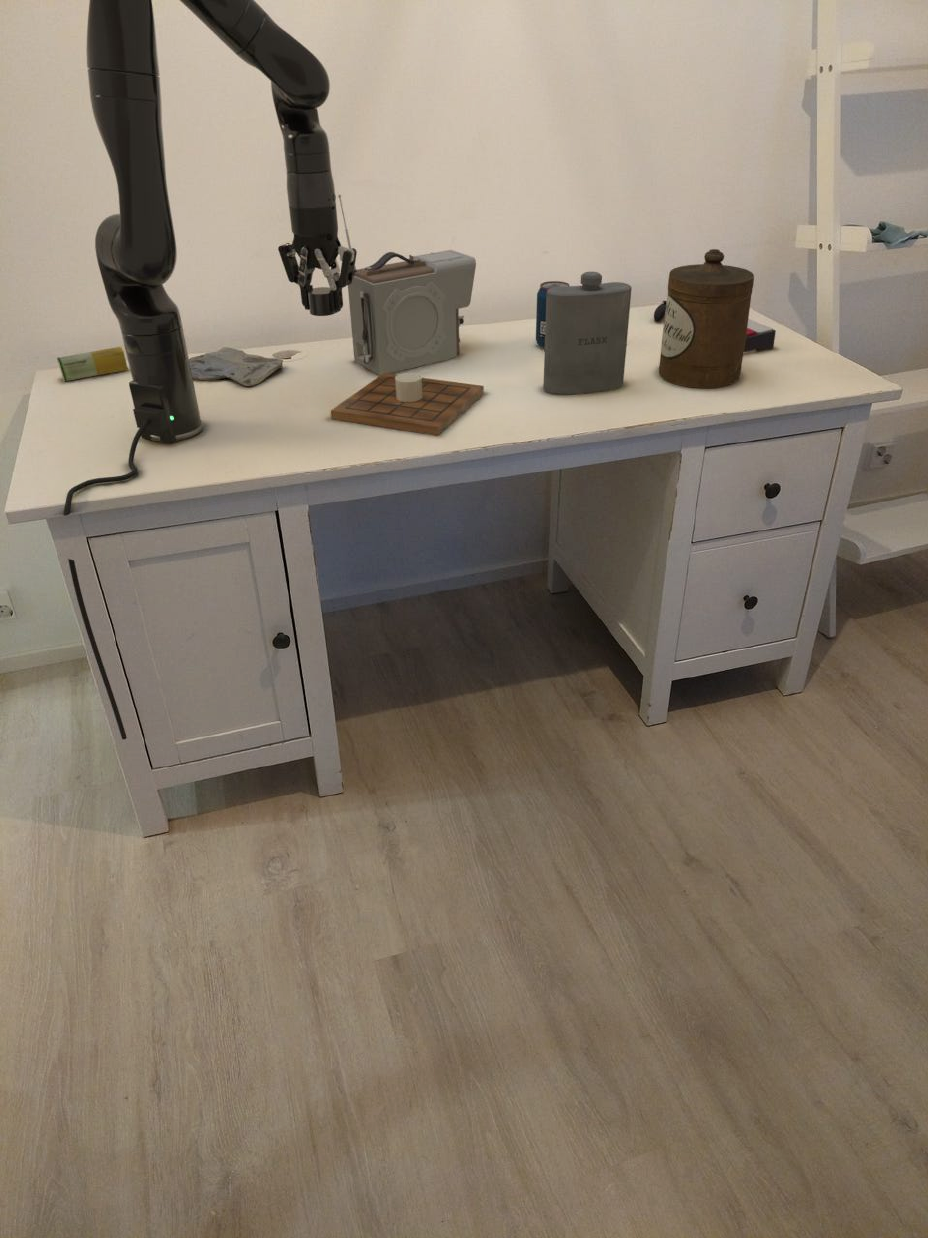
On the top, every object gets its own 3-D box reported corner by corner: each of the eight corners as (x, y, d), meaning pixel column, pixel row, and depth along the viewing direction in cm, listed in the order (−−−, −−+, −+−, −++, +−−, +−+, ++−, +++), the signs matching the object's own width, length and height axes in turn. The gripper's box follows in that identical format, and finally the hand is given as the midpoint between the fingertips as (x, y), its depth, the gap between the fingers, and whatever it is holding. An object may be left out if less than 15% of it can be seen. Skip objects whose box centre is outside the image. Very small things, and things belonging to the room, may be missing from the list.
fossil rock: (290, 368, 173) (288, 356, 171) (239, 394, 162) (236, 381, 161) (221, 355, 180) (219, 343, 178) (167, 378, 169) (165, 366, 168)
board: (437, 435, 145) (437, 426, 144) (331, 418, 151) (330, 410, 150) (483, 393, 160) (483, 385, 159) (385, 380, 166) (384, 372, 165)
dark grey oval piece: (654, 319, 191) (655, 293, 192) (651, 331, 197) (652, 306, 198) (699, 319, 190) (700, 294, 191) (695, 332, 196) (696, 307, 197)
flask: (549, 397, 157) (553, 280, 146) (539, 386, 162) (543, 272, 151) (628, 389, 160) (639, 274, 149) (617, 378, 165) (626, 265, 153)
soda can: (546, 338, 185) (548, 278, 178) (575, 343, 182) (579, 283, 175) (529, 347, 181) (530, 286, 174) (558, 353, 177) (561, 291, 170)
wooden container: (653, 361, 172) (665, 241, 159) (730, 361, 171) (748, 240, 159) (664, 389, 160) (679, 261, 147) (747, 388, 159) (769, 259, 147)
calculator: (680, 326, 178) (741, 312, 182) (678, 347, 180) (738, 333, 185) (715, 341, 170) (777, 326, 174) (712, 363, 172) (774, 348, 177)
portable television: (478, 352, 178) (477, 188, 161) (375, 377, 168) (362, 204, 150) (445, 337, 187) (441, 180, 169) (345, 360, 176) (330, 195, 159)
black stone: (328, 317, 150) (326, 295, 147) (304, 314, 151) (302, 292, 149) (341, 309, 153) (339, 288, 151) (318, 307, 154) (316, 286, 152)
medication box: (64, 382, 168) (58, 362, 166) (61, 376, 170) (55, 357, 168) (128, 370, 173) (123, 350, 170) (125, 364, 175) (120, 345, 172)
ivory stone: (415, 403, 152) (414, 383, 150) (391, 400, 154) (390, 379, 152) (426, 394, 156) (426, 374, 154) (403, 391, 157) (402, 371, 155)
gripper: (261, 203, 141) (275, 312, 151) (340, 208, 137) (349, 320, 147) (285, 195, 147) (298, 300, 157) (362, 199, 143) (370, 308, 152)
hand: (323, 309), depth 152 cm, fingers closed on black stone, 4 cm apart
